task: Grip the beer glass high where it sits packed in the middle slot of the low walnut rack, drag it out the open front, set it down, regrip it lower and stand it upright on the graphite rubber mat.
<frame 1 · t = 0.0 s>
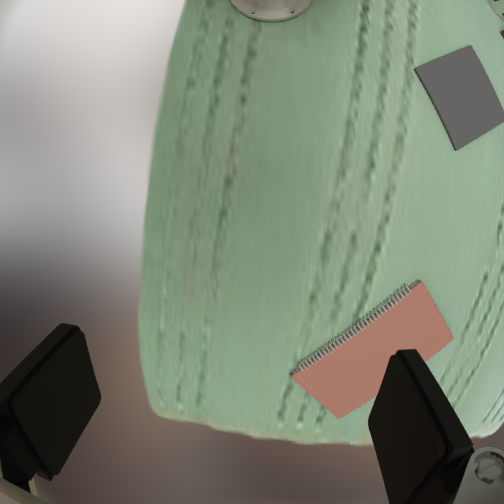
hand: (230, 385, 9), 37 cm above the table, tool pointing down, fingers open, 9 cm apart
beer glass: (500, 7, 30), on the table
rubber mat: (464, 94, 37), on the table
notebook: (374, 351, 52), on the table
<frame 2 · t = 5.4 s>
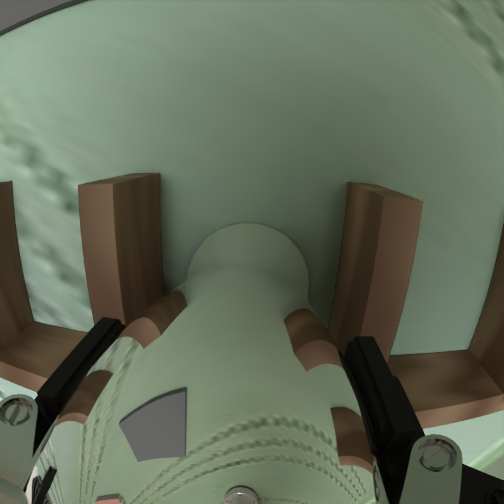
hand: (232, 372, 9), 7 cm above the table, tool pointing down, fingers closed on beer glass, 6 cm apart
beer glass: (248, 279, 16), on the table, touching gripper
slot rack: (248, 280, 16), on the table
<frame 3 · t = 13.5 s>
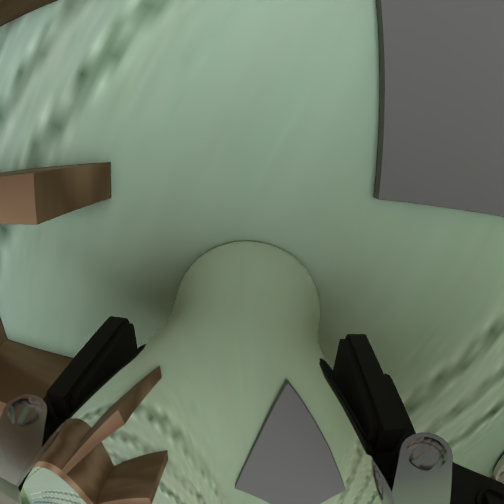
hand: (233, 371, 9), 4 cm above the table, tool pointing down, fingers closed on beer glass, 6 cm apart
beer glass: (248, 306, 14), on the table, touching gripper
slot rack: (37, 284, 14), on the table
when the fingers open (6 cm above the table, at t = 19.5 s): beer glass stays where it is, resting on rubber mat.
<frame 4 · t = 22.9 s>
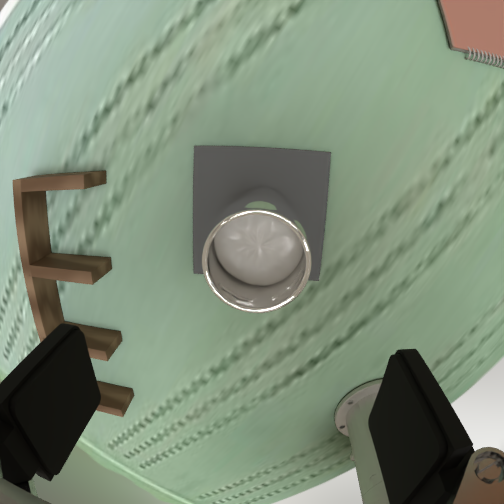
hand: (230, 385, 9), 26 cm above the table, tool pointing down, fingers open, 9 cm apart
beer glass: (261, 215, 33), resting on rubber mat
rubber mat: (259, 213, 34), on the table
slot rack: (83, 297, 38), on the table
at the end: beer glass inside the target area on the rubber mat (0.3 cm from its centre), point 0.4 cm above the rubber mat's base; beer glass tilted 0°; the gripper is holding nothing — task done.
